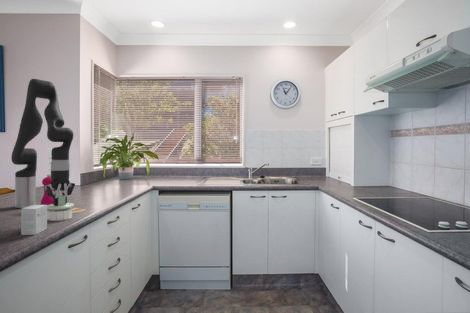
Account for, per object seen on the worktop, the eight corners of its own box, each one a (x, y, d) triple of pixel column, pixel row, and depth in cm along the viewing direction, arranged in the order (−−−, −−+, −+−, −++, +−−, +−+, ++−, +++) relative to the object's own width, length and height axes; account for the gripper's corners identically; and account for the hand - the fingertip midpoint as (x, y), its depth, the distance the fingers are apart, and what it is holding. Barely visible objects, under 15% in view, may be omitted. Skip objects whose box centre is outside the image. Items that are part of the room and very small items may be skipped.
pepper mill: (48, 213, 144) (48, 175, 143) (37, 212, 145) (37, 174, 144) (59, 210, 151) (60, 173, 150) (48, 209, 152) (49, 173, 151)
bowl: (42, 220, 129) (42, 210, 129) (64, 216, 138) (64, 206, 138) (55, 223, 125) (55, 212, 125) (76, 219, 134) (76, 208, 134)
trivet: (51, 213, 143) (51, 211, 143) (73, 209, 154) (73, 207, 154) (65, 216, 138) (65, 214, 138) (87, 211, 148) (87, 210, 148)
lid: (40, 207, 129) (40, 196, 129) (64, 203, 139) (64, 193, 139) (54, 210, 124) (54, 199, 123) (79, 206, 134) (79, 195, 134)
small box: (33, 229, 116) (33, 204, 116) (47, 229, 117) (47, 204, 117) (20, 235, 108) (20, 208, 108) (35, 235, 109) (35, 208, 109)
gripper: (70, 168, 139) (69, 201, 139) (39, 169, 126) (39, 206, 127) (79, 168, 135) (79, 203, 136) (49, 170, 123) (48, 208, 123)
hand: (59, 205), depth 131 cm, fingers closed on lid, 3 cm apart
